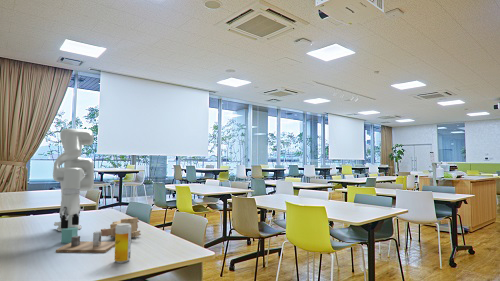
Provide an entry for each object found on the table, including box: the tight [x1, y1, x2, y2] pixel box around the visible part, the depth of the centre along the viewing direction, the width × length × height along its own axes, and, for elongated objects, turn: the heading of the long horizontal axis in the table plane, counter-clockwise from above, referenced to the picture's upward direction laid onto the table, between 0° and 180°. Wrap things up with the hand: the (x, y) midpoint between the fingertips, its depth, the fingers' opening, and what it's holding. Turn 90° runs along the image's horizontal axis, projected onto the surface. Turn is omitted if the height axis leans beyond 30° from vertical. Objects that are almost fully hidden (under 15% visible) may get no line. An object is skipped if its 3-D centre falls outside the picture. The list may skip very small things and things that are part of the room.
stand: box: [55, 235, 115, 254], centre depth 147 cm, size 22×14×5 cm, turn 91°
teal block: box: [60, 227, 79, 244], centre depth 158 cm, size 5×5×7 cm
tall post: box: [92, 230, 102, 246], centre depth 147 cm, size 3×3×6 cm
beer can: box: [114, 223, 132, 264], centre depth 129 cm, size 6×6×15 cm
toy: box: [100, 217, 141, 238], centre depth 167 cm, size 10×20×20 cm
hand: (69, 226), depth 157 cm, fingers open, 9 cm apart
